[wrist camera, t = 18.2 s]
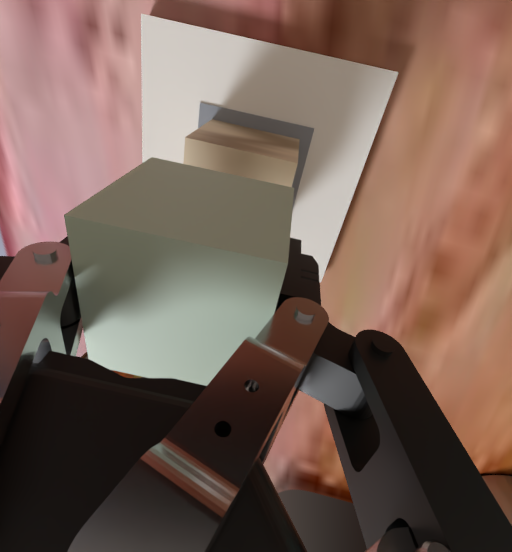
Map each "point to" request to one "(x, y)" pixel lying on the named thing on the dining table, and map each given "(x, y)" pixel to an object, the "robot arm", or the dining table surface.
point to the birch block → (243, 152)
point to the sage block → (178, 267)
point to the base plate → (266, 112)
